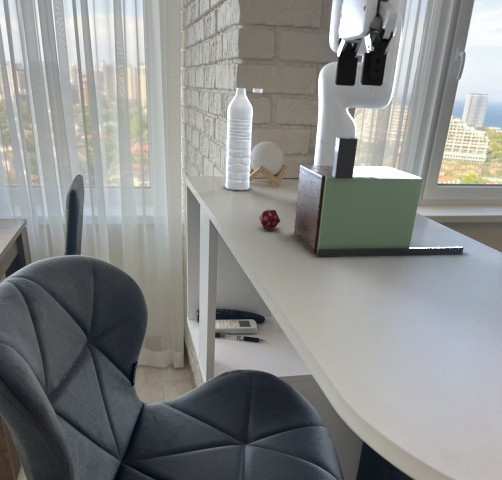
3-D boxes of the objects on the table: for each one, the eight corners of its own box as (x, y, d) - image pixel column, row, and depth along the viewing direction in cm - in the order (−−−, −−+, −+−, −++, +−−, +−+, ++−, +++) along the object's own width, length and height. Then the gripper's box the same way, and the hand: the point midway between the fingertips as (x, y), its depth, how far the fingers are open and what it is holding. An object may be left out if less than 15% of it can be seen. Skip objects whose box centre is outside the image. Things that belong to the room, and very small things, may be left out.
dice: (261, 225, 103) (262, 206, 102) (282, 228, 102) (284, 208, 100) (255, 229, 100) (256, 209, 98) (276, 233, 99) (278, 212, 97)
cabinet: (293, 234, 98) (300, 165, 93) (423, 233, 104) (436, 168, 99) (317, 256, 86) (326, 178, 80) (462, 254, 92) (480, 180, 86)
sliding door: (316, 251, 88) (329, 136, 79) (406, 250, 91) (427, 140, 83) (319, 254, 86) (333, 138, 78) (411, 252, 90) (433, 141, 82)
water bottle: (224, 189, 136) (227, 86, 125) (226, 185, 142) (229, 86, 131) (256, 191, 136) (262, 88, 125) (257, 187, 142) (262, 88, 131)
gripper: (434, -69, 62) (408, 87, 69) (373, -39, 77) (357, 86, 84) (377, -77, 60) (357, 83, 67) (326, -44, 75) (314, 84, 83)
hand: (357, 85), depth 76 cm, fingers open, 9 cm apart
